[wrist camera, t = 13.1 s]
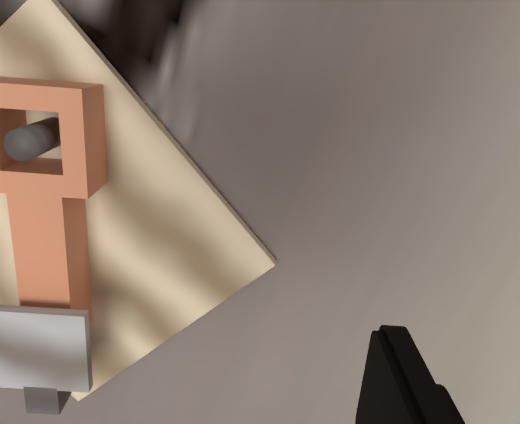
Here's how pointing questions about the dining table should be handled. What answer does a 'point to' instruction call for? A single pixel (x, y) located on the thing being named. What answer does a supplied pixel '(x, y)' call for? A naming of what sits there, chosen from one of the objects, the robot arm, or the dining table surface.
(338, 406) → the dining table surface
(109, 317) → the board
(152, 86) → the dining table surface
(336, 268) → the dining table surface
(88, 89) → the link
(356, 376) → the dining table surface
